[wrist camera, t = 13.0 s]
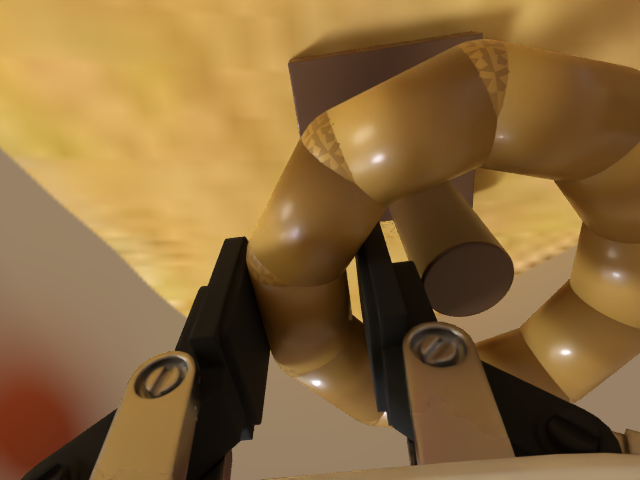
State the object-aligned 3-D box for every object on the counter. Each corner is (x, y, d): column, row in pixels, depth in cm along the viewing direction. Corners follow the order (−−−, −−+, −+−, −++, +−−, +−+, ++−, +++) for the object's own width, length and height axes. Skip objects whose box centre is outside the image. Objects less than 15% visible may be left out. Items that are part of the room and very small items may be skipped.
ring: (720, -7, 8) (857, -10, 6) (602, 368, 14) (653, 431, 12) (210, 74, 9) (180, 96, 7) (296, 402, 15) (294, 468, 12)
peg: (472, 31, 20) (711, 70, 8) (464, 198, 24) (608, 381, 12) (289, 59, 20) (259, 135, 8) (315, 218, 24) (319, 412, 13)
